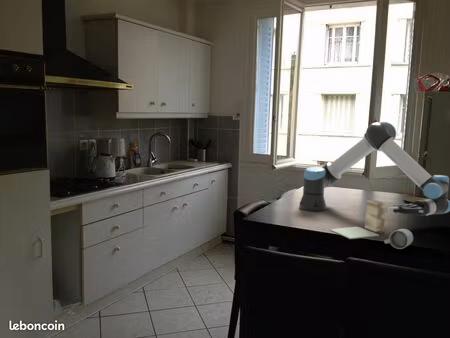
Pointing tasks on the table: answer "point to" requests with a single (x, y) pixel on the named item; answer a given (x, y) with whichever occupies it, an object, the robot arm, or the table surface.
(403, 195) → the table surface
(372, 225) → the birch block
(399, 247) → the ceramic mug
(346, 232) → the sage mat
